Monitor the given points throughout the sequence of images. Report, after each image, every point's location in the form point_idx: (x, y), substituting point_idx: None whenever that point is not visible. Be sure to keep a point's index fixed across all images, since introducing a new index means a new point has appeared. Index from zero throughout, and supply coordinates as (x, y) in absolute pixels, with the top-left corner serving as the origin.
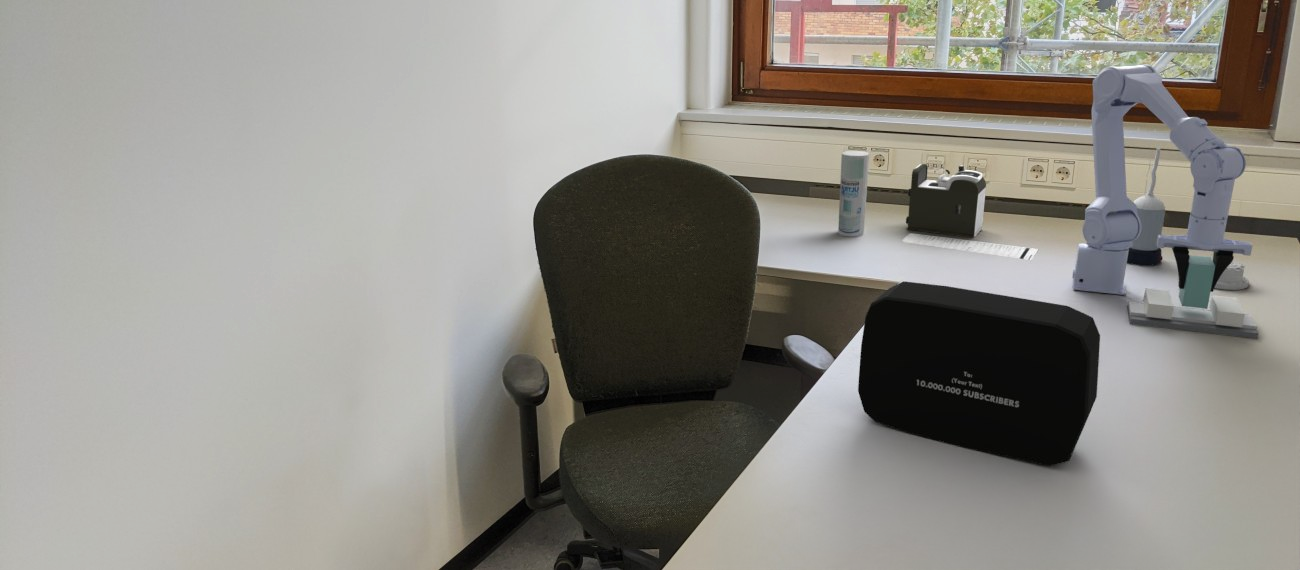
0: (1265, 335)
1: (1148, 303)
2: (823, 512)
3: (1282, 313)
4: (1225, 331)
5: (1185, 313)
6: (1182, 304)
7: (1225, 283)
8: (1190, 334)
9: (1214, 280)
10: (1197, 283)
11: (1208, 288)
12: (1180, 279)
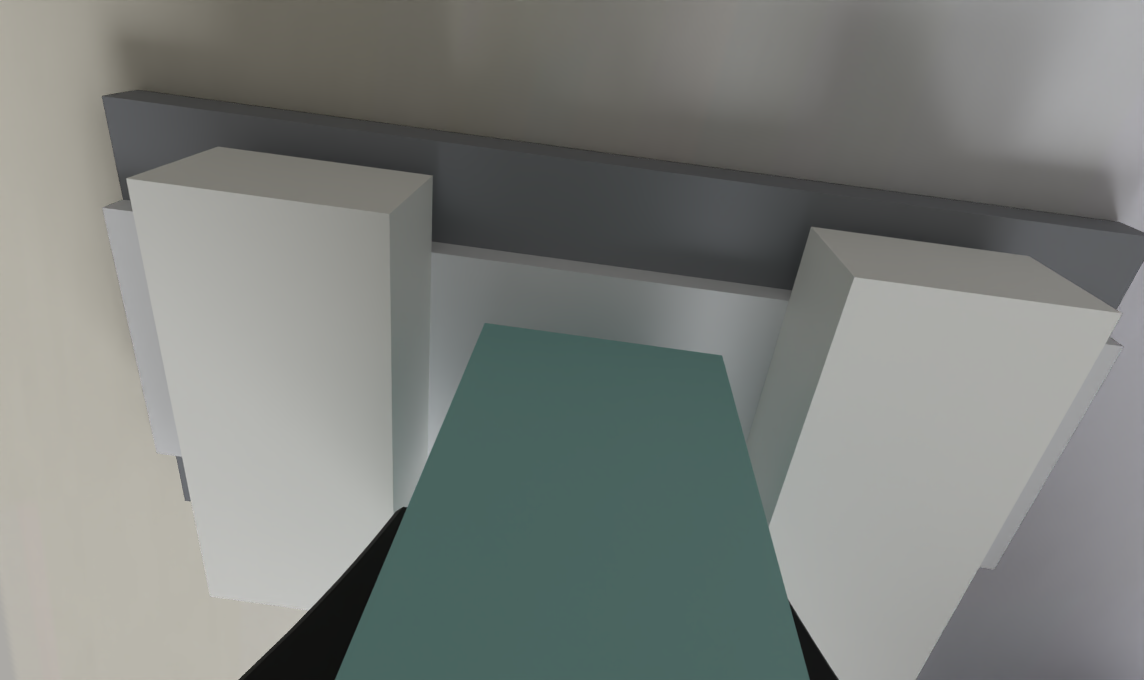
0: (87, 192)
1: (1107, 329)
2: None
3: (34, 592)
4: (366, 125)
5: None
6: (721, 366)
7: None
8: (662, 63)
9: (347, 620)
10: (612, 541)
11: (457, 471)
12: (822, 655)
